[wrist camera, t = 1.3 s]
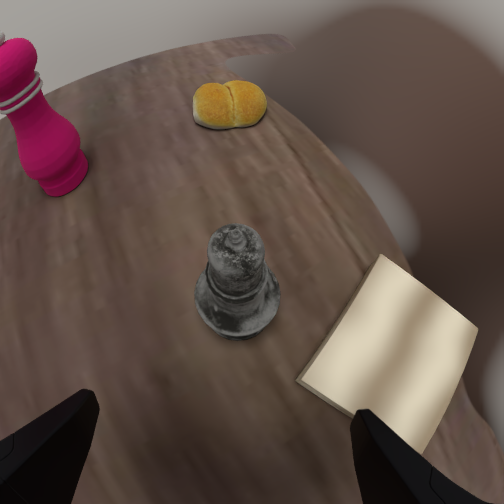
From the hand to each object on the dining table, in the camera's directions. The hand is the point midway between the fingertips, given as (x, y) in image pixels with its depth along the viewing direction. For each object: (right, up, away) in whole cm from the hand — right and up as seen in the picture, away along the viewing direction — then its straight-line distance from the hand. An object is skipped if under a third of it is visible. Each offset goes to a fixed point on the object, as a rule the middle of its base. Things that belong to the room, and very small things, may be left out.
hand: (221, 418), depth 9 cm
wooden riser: (+13, -3, +13) cm, 19 cm away
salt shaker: (0, +1, +15) cm, 15 cm away
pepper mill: (-21, +14, +21) cm, 33 cm away
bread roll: (-2, +22, +26) cm, 34 cm away
